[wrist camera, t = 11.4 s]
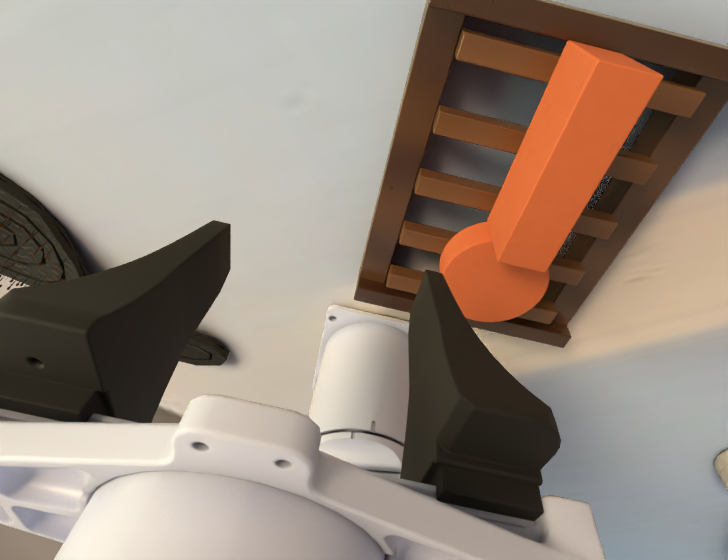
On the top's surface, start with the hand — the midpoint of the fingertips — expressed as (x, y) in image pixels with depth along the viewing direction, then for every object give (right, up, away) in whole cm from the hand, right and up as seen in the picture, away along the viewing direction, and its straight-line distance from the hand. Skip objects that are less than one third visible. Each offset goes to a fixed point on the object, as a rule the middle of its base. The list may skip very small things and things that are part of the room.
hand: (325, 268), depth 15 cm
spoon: (+9, +3, +5) cm, 10 cm away
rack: (+9, +5, +7) cm, 12 cm away
